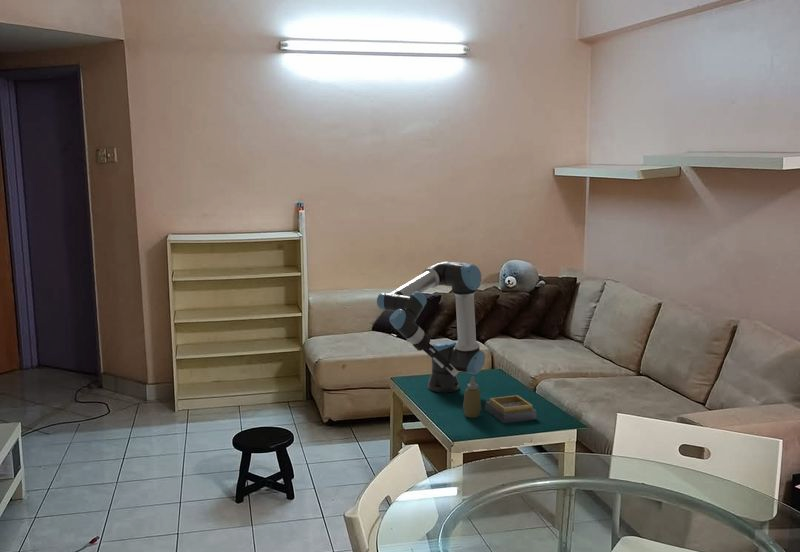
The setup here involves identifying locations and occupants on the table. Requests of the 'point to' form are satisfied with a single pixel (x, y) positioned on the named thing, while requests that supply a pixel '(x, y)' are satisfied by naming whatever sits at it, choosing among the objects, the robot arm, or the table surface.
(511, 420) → the square gold-rimmed tray
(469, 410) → the squeeze bottle
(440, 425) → the table surface
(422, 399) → the table surface
